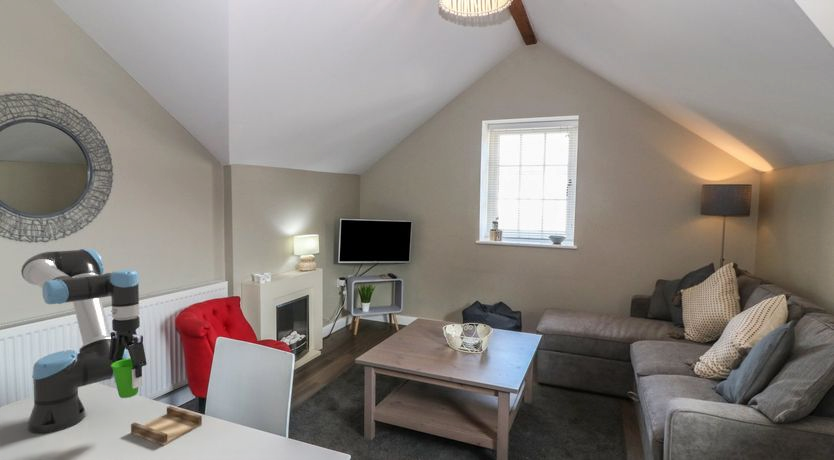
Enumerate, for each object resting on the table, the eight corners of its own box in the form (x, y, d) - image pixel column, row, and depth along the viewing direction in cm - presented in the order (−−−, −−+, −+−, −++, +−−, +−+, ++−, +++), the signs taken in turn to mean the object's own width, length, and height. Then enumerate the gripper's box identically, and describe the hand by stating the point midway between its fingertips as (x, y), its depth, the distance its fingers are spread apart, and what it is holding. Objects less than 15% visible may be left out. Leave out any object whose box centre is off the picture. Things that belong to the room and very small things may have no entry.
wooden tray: (131, 433, 145) (130, 424, 144) (169, 414, 158) (169, 405, 157) (164, 445, 138) (163, 435, 138) (201, 425, 151) (201, 416, 151)
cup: (127, 402, 140) (125, 368, 139) (105, 399, 142) (103, 365, 141) (151, 390, 148) (149, 359, 148) (129, 387, 151) (128, 356, 150)
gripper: (94, 316, 145) (96, 382, 146) (134, 324, 136) (137, 394, 137) (118, 311, 152) (120, 374, 153) (158, 318, 142) (160, 385, 144)
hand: (128, 384), depth 145 cm, fingers closed on cup, 9 cm apart
